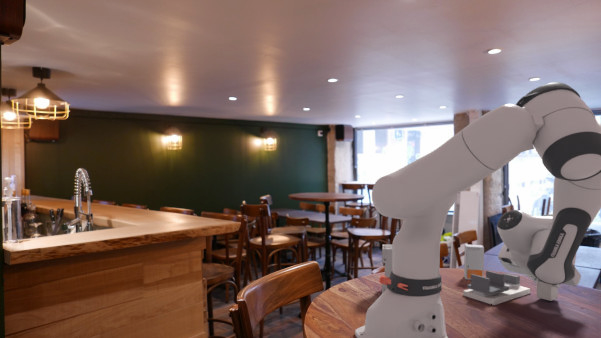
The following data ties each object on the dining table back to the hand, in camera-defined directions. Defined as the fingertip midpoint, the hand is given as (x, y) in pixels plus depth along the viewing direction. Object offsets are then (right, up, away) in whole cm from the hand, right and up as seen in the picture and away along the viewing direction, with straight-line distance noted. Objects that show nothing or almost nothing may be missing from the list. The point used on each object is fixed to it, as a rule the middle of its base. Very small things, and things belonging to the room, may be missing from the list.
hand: (547, 283), depth 116 cm
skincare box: (-12, -5, +22) cm, 25 cm away
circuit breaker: (-42, -5, +4) cm, 42 cm away
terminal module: (0, -4, 0) cm, 4 cm away
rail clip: (-13, -3, +5) cm, 14 cm away
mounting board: (-13, -5, +5) cm, 14 cm away
